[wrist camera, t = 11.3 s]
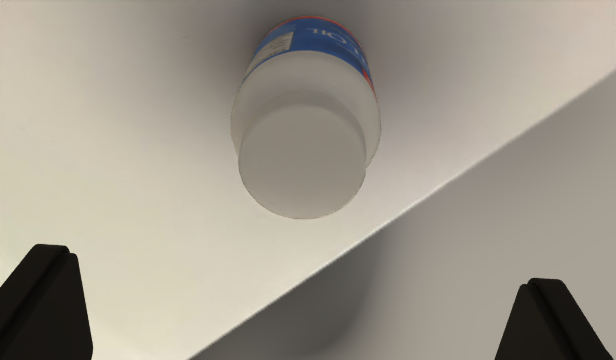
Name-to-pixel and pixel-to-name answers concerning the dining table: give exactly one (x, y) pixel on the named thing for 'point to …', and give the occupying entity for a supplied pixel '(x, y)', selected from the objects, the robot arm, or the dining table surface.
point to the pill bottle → (306, 119)
